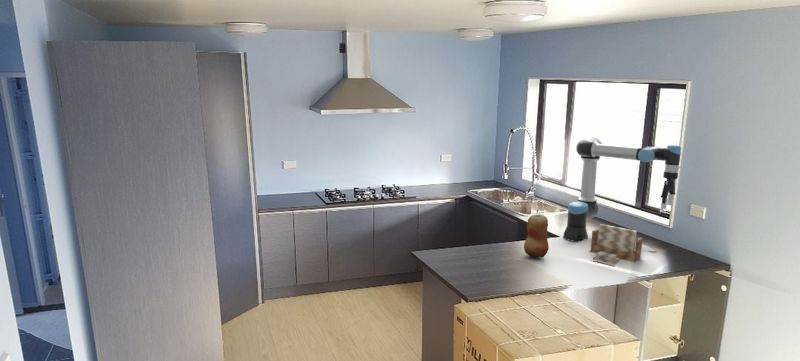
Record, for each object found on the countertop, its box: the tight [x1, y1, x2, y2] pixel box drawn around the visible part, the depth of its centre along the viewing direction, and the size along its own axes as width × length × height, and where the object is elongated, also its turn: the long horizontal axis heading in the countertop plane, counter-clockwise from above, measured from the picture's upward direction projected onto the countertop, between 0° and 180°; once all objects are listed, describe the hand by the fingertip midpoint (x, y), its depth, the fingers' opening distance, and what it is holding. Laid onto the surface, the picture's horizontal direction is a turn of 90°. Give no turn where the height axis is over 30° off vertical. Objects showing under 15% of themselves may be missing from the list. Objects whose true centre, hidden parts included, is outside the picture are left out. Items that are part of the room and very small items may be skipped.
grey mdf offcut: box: [595, 251, 617, 262], centre depth 283 cm, size 9×6×2 cm, turn 50°
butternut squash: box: [523, 213, 550, 260], centre depth 287 cm, size 14×13×25 cm
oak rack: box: [588, 228, 643, 263], centre depth 293 cm, size 26×12×14 cm, turn 48°
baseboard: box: [635, 241, 657, 253], centre depth 319 cm, size 31×3×12 cm
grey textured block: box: [592, 255, 620, 268], centre depth 284 cm, size 12×7×3 cm, turn 48°
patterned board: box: [597, 223, 637, 254], centre depth 293 cm, size 20×2×16 cm, turn 48°
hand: (666, 206), depth 302 cm, fingers open, 13 cm apart
